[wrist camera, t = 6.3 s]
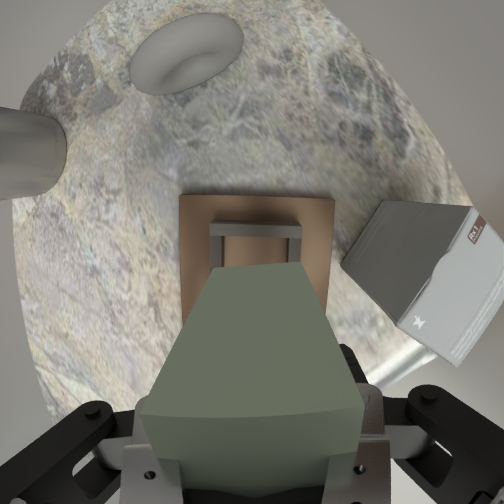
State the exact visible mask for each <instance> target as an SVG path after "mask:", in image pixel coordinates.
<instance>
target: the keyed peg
mask: <svg viewBox="0 0 504 504" xmlns="http://www.w3.org/2000/svg"><path fill="white" fill-rule="evenodd" d="M364 409H365V404H364V402H363V399H362V397H361V395H360V392H359V390H358V387H357V385H356V383H355V380H354V378H353V376H352V373H351V371H350V369H349V366H348V364H347V362H346V360H345V357H344V355H343V353H342V350H341V348H340V346H339V344H338V341H337V339H336V337H335V335H334V332H333V330H332V328H331V326H330V323H329V321H328V319H327V317H326V315H325V312H324V310H323V308H322V306H321V304H320V301H319V299H318V297H317V295H316V293H315V291H314V288H313V286H312V284H311V282H310V280H309V278H308V276H307V273H306V271H305V269H304V267H303V265H302V263H301V262H288V263H275V264H261V265H247V266H233V267H218V268H213V270H212V272H211V273H210V275H209V277H208V279H207V281H206V283H205V285H204V287H203V289H202V291H201V292H200V294H199V296H198V298H197V300H196V302H195V304H194V306H193V308H192V310H191V312H190V314H189V316H188V318H187V319H186V321H185V323H184V325H183V327H182V329H181V331H180V333H179V335H178V337H177V339H176V341H175V343H174V345H173V347H172V349H171V351H170V353H169V355H168V357H167V359H166V361H165V363H164V365H163V367H162V369H161V371H160V373H159V375H158V377H157V379H156V381H155V383H154V385H153V387H152V389H151V391H150V393H149V395H148V397H147V399H146V401H145V403H144V405H143V407H142V409H141V411H140V413H139V415H140V418H141V421H142V423H143V426H144V429H145V431H146V434H147V436H148V439H149V441H150V444H151V446H152V449H153V451H154V454H155V456H156V458H163V459H174V460H179V463H180V465H181V468H182V471H183V473H184V476H185V478H186V479H185V488H187V489H200V490H218V491H222V492H226V493H231V494H236V495H241V496H246V497H251V498H258V497H263V496H267V495H271V494H276V493H280V492H283V491H287V490H291V489H294V488H304V487H313V486H322V485H325V483H326V477H327V471H328V465H329V459H330V455H336V454H343V453H349V452H355V451H357V449H358V444H359V439H360V433H361V427H362V421H363V415H364Z"/></svg>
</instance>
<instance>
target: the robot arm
mask: <svg viewBox="0 0 504 504" xmlns="http://www.w3.org/2000/svg"><path fill="white" fill-rule="evenodd" d="M66 152H67V149H66V139H65V135H64V132H63V130H62V128H61V126H60V125H59V124H58V122H56V121H55V120H54V119H53V118H50V117H47V116H43V115H38V114H33V113H29V112H25V111H20V110H14V109H9V108H4V107H0V201H1V200H8V199H15V198H22V197H29V196H36V195H41V194H43V193H46V192H47V191H48V190H50V189H51V188H52V187H53V186H54V185H55V184H56V182H57V180H58V179H59V177H60V175H61V173H62V171H63V168H64V164H65V160H66ZM339 346H340V348H341V350H342V353H343V355H344V357H345V360H346V362H347V364H348V366H349V369H350V371H351V373H352V376H353V378H354V380H355V383H356V385H357V387H358V390H359V392H360V395H361V397H362V399H363V402H364V404H365V409H364V415H363V421H362V427H361V433H360V439H359V444H358V449H357V451H355V452H349V453H343V454H336V455H330V459H329V465H328V471H327V477H326V483H325V485H322V486H313V487H304V488H294V489H291V490H287V491H283V492H280V493H276V494H271V495H267V496H263V497H258V498H251V497H246V496H241V495H236V494H231V493H226V492H222V491H218V490H200V489H187V488H185V479H186V478H185V476H184V473H183V471H182V468H181V465H180V463H179V460H174V459H163V458H156V456H155V454H154V451H153V449H152V446H151V444H150V441H149V439H148V436H147V434H146V431H145V429H144V426H143V423H142V421H141V418H140V415H139V413H140V411H141V409H142V407H143V405H144V403H145V401H146V399H147V397H148V395H147V396H145V397H143V398H142V399H140V400H139V401H138V402H137V404H136V406H135V409H134V410H129V411H122V412H113V410H112V407H111V405H110V404H108V403H107V402H104V401H98V400H97V401H90V402H87V403H84V404H82V405H81V406H79V407H78V408H77V409H75V410H74V411H73V412H71V413H70V414H69V415H68V416H66V417H65V418H64V419H62V420H61V421H60V422H58V423H57V424H56V425H55V426H53V427H52V428H51V429H49V430H48V431H47V432H46V433H44V434H43V435H41V436H40V437H39V438H38V439H36V440H35V441H34V442H32V443H31V444H30V445H28V446H27V447H26V448H24V449H23V450H22V451H20V452H19V453H18V454H16V455H15V456H14V457H12V458H11V459H10V460H8V461H7V462H6V463H4V464H3V465H2V466H0V504H104V503H105V502H106V501H107V500H108V499H109V498H110V497H111V496H112V495H113V494H114V493H115V492H116V491H117V490H118V489H119V488H120V500H119V504H391V461H390V458H393V459H394V461H395V462H396V464H397V465H399V467H401V469H402V470H403V471H404V472H405V473H406V474H407V475H408V476H410V478H411V479H413V480H414V481H415V483H416V484H417V485H418V486H420V487H421V488H422V489H423V490H424V491H425V492H426V493H427V494H428V495H429V496H430V497H431V498H432V499H433V500H434V501H435V502H436V503H437V504H504V430H503V429H502V428H500V427H499V426H497V425H496V424H494V423H493V422H492V421H490V420H489V419H487V418H486V417H484V416H483V415H481V414H479V413H478V412H477V411H475V410H474V409H472V408H471V407H469V406H468V405H466V404H465V403H463V402H462V401H460V400H459V399H457V398H456V397H454V396H453V395H452V394H450V393H449V392H447V391H446V390H444V389H442V388H441V387H438V386H435V385H420V386H417V387H415V388H413V389H412V390H411V391H410V392H409V394H408V398H390V397H385V396H383V395H382V392H381V391H380V389H378V388H377V387H376V386H374V385H371V384H369V383H368V381H367V379H366V377H365V375H364V373H363V371H362V369H361V367H360V365H359V363H358V361H357V359H356V357H355V354H354V352H353V350H352V349H351V348H349V347H348V346H346V345H345V344H339ZM435 441H437V442H438V443H439V444H441V445H442V446H443V447H444V448H445V449H447V450H448V451H449V452H450V453H451V455H452V456H450V455H449V454H448V453H447V452H445V451H444V450H443V449H442V448H441V447H440V446H438V445H437V444H436V443H435ZM90 451H92V453H93V455H94V458H93V459H92V460H91V461H90V462H89V463H88V464H86V465H85V466H84V467H83V468H82V469H81V470H80V471H79V472H78V473H77V474H76V475H74V476H73V475H72V470H73V468H74V466H75V465H76V464H77V463H78V462H79V461H80V460H81V459H82V458H83V457H85V456H86V455H87V454H88V453H89V452H90Z"/></svg>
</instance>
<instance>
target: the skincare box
mask: <svg viewBox="0 0 504 504" xmlns="http://www.w3.org/2000/svg"><path fill="white" fill-rule="evenodd" d="M340 266H341V268H342V269H343V270H344V271H345V272H346V273H347V274H348V275H349V276H350V277H351V278H352V279H353V280H354V281H355V282H356V283H357V284H358V285H359V286H360V287H361V288H362V289H363V290H364V291H365V292H366V293H367V294H368V295H369V296H370V298H371V299H372V300H373V301H374V302H375V303H376V304H377V305H378V306H379V307H380V308H381V309H382V310H383V311H384V312H385V313H386V314H387V316H388V317H389V318H390V319H391V320H392V321H393V323H394V324H395V326H396V327H397V328H399V329H400V330H401V331H403V332H404V333H406V334H407V335H409V336H410V337H412V338H413V339H415V340H416V341H417V342H419V343H420V344H422V345H423V346H425V347H426V348H428V349H429V350H431V351H432V352H434V353H435V354H437V355H438V356H440V357H441V358H443V359H444V360H446V361H447V362H449V363H450V364H452V365H453V366H455V367H458V366H459V365H460V363H461V362H462V361H463V360H464V358H465V357H466V355H467V354H468V353H469V351H470V350H471V349H472V347H473V346H474V345H475V343H476V342H477V340H478V339H479V338H480V336H481V335H482V333H483V332H484V330H485V329H486V327H487V326H488V324H489V323H490V321H491V320H492V318H493V317H494V315H495V313H496V312H497V310H498V309H499V307H500V306H501V304H502V302H503V301H504V241H503V240H502V239H501V238H500V236H499V235H498V234H497V233H496V232H495V231H494V229H493V228H492V227H491V226H490V225H489V223H488V222H487V221H486V220H485V219H484V218H483V217H482V215H481V214H480V213H479V212H478V211H477V210H476V209H475V207H473V206H461V205H448V204H433V203H422V202H408V201H393V200H383V201H382V202H381V204H380V206H379V207H378V209H377V210H376V212H375V213H374V215H373V217H372V218H371V220H370V221H369V223H368V224H367V226H366V227H365V229H364V230H363V232H362V233H361V235H360V236H359V238H358V239H357V241H356V242H355V244H354V245H353V247H352V248H351V250H350V251H349V253H348V254H347V256H346V257H345V259H344V260H343V262H342V263H341V265H340Z"/></svg>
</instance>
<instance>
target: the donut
mask: <svg viewBox="0 0 504 504" xmlns="http://www.w3.org/2000/svg"><path fill="white" fill-rule="evenodd" d="M243 42H244V35H243V32H242V30H241V28H240V26H239V25H238V24H237V22H236V21H235V20H233V19H231V18H229V17H226V16H224V15H221V14H215V13H200V14H195V15H190V16H186V17H183V18H180V19H178V20H175V21H173V22H171V23H168V24H166V25H165V26H163V27H162V28H160V29H158V30H157V31H155V32H154V33H152V34H151V35H150V36H149V37H148V38H147V39H146V40H145V41H144V42H143V43H141V44H140V46H139V47H138V49H137V51H136V52H135V54H134V55H133V57H132V59H131V63H130V70H129V76H130V79H131V81H132V82H133V84H134V85H135V87H136V88H137V89H138V90H139V91H141V92H143V93H146V94H150V95H167V94H172V93H176V92H180V91H183V90H186V89H189V88H191V87H194V86H196V85H198V84H200V83H203V82H204V81H206V80H208V79H210V78H212V77H214V76H215V75H217V74H218V73H219V72H221V71H222V70H224V69H225V68H226V67H227V66H228V65H230V64H231V63H232V62H233V61H234V60H235V59H236V57H237V56H238V55H239V53H240V52H241V49H242V46H243Z"/></svg>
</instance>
